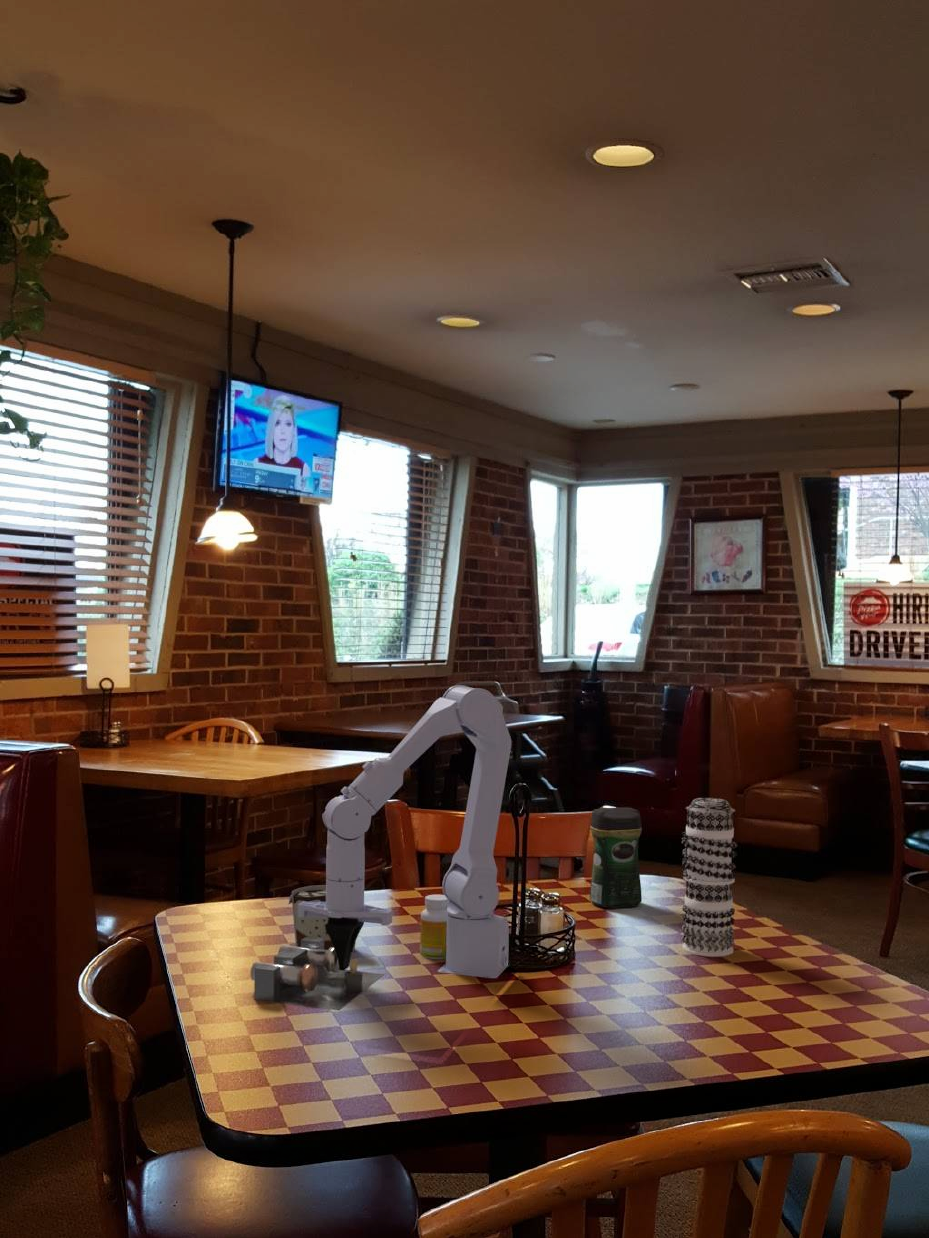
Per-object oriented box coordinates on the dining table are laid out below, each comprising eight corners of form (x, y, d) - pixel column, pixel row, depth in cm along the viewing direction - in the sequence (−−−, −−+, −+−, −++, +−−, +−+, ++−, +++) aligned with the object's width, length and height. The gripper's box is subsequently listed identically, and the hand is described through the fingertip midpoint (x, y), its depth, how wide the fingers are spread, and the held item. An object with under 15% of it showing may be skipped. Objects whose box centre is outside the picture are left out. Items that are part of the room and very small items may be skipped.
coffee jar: (629, 897, 229) (630, 803, 229) (646, 907, 222) (648, 810, 222) (583, 900, 227) (585, 805, 227) (599, 910, 219) (601, 812, 219)
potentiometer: (364, 988, 170) (365, 958, 170) (358, 993, 167) (358, 963, 167) (348, 986, 170) (348, 956, 170) (341, 991, 168) (341, 961, 168)
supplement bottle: (449, 963, 184) (450, 902, 184) (416, 960, 186) (417, 899, 185) (456, 953, 190) (457, 894, 190) (424, 951, 191) (425, 892, 191)
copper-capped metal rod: (318, 986, 167) (318, 961, 167) (307, 994, 164) (307, 968, 164) (260, 979, 170) (260, 955, 170) (248, 987, 167) (249, 962, 167)
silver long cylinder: (342, 968, 176) (342, 945, 176) (332, 975, 173) (332, 951, 173) (286, 962, 179) (287, 939, 179) (276, 969, 175) (276, 945, 175)
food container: (369, 945, 194) (370, 885, 193) (362, 956, 187) (363, 894, 187) (296, 942, 195) (297, 882, 195) (287, 953, 189) (288, 891, 189)
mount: (384, 978, 176) (384, 945, 176) (339, 1014, 160) (339, 977, 160) (305, 968, 180) (306, 936, 180) (254, 1003, 164) (254, 968, 164)
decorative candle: (668, 948, 195) (670, 798, 195) (702, 938, 201) (704, 793, 201) (713, 960, 188) (715, 806, 188) (746, 950, 194) (749, 800, 194)
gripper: (289, 879, 172) (288, 970, 172) (380, 887, 168) (379, 981, 168) (309, 869, 179) (308, 957, 179) (397, 877, 175) (396, 967, 175)
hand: (344, 968), depth 174 cm, fingers closed
